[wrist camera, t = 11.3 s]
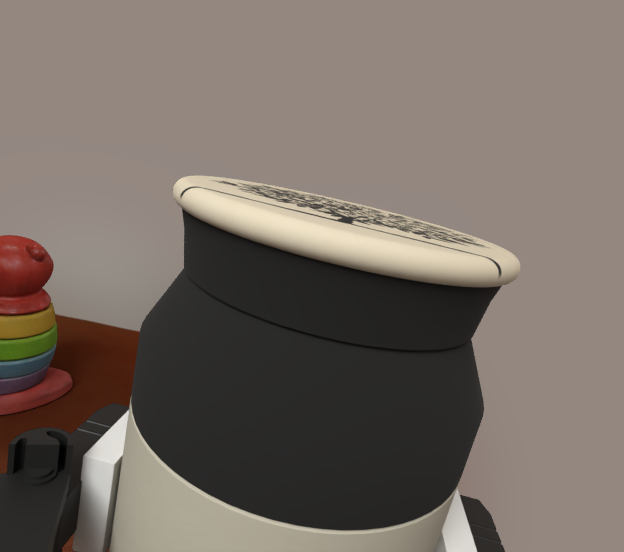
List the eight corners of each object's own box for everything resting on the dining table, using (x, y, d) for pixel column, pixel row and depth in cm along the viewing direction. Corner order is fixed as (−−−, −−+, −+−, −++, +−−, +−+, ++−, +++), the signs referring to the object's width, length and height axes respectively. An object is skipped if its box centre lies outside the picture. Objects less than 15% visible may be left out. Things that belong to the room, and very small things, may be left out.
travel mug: (176, 599, 19) (257, 178, 15) (355, 691, 17) (507, 240, 13) (-1, 868, 11) (59, 159, 7) (285, 1082, 10) (598, 303, 5)
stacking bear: (80, 385, 53) (96, 242, 49) (12, 431, 44) (24, 258, 39) (0, 360, 54) (9, 218, 50) (-84, 399, 45) (-82, 228, 40)
